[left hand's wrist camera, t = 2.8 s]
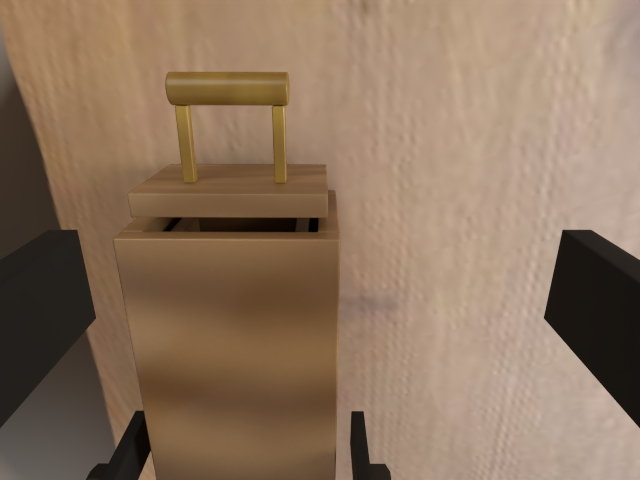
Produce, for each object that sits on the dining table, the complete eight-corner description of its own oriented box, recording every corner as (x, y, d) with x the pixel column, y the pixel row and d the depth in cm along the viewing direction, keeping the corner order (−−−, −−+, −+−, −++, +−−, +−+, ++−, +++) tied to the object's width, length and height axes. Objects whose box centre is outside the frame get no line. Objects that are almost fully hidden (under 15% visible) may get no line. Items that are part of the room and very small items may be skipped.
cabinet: (169, 189, 29) (111, 238, 21) (335, 190, 29) (340, 239, 21) (197, 411, 36) (161, 512, 28) (331, 411, 36) (334, 512, 28)
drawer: (158, 69, 25) (107, 72, 19) (327, 70, 25) (328, 73, 19) (197, 386, 34) (170, 459, 28) (324, 387, 34) (325, 459, 28)
